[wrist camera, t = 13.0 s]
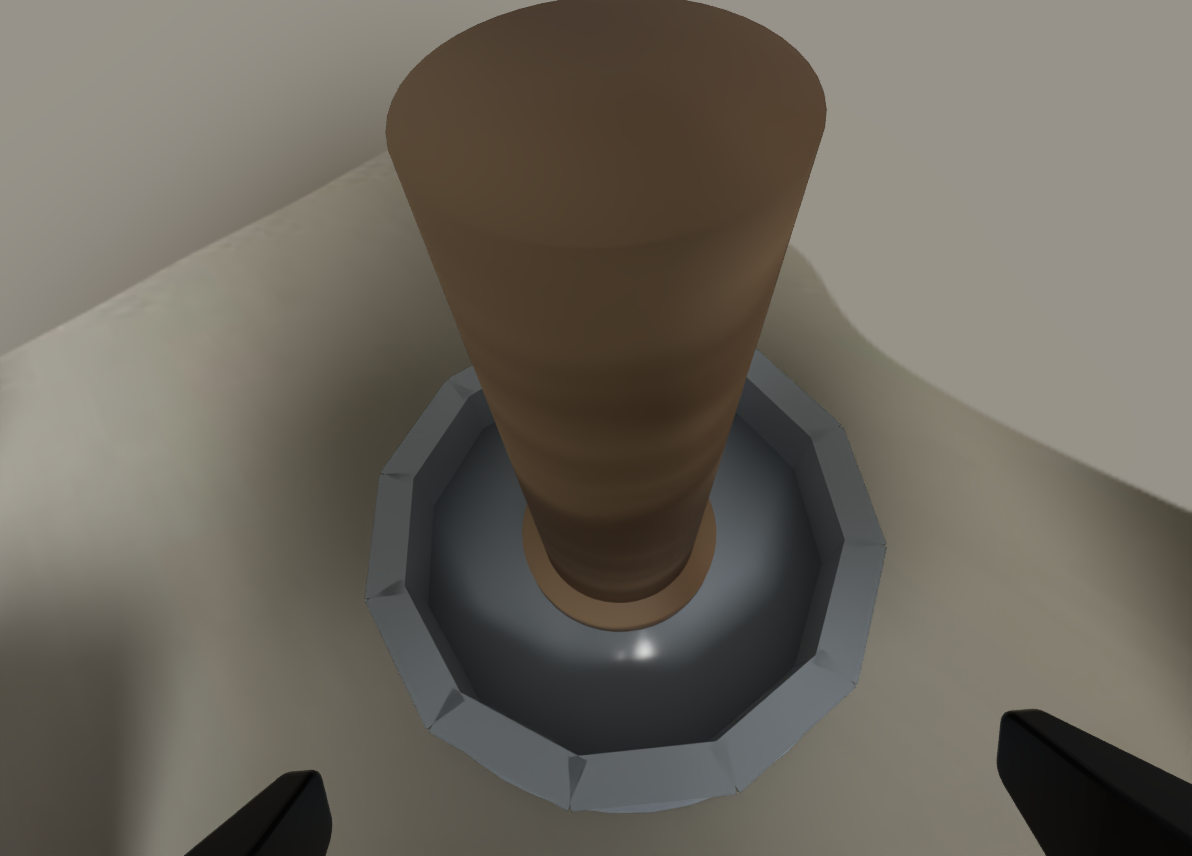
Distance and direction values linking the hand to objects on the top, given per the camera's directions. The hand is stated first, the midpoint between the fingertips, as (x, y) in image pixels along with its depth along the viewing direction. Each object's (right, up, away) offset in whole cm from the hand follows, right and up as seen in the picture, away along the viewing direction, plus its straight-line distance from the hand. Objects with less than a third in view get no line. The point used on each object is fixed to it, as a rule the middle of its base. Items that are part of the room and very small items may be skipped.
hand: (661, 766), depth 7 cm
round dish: (0, +1, +10) cm, 10 cm away
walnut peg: (0, +1, +10) cm, 10 cm away
